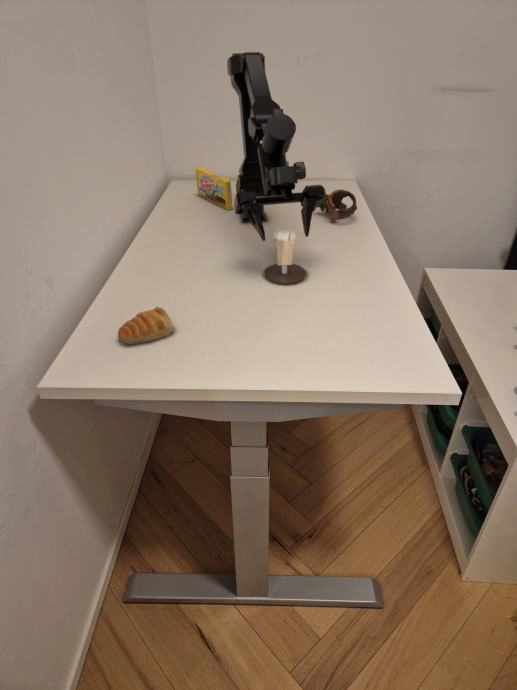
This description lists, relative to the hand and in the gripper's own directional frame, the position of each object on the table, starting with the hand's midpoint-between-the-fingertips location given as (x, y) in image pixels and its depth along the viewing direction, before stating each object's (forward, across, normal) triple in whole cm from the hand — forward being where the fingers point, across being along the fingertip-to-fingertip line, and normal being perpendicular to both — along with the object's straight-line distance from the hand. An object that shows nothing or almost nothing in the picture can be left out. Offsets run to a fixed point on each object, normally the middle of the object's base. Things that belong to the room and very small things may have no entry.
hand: (285, 238), depth 97 cm
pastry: (+18, -30, -6) cm, 35 cm away
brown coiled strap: (-15, +22, +27) cm, 38 cm away
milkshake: (+6, 0, +5) cm, 8 cm away
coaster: (+6, 0, +6) cm, 8 cm away
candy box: (-28, -9, +40) cm, 50 cm away
